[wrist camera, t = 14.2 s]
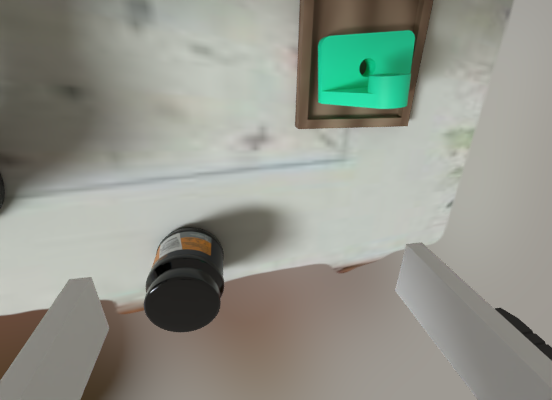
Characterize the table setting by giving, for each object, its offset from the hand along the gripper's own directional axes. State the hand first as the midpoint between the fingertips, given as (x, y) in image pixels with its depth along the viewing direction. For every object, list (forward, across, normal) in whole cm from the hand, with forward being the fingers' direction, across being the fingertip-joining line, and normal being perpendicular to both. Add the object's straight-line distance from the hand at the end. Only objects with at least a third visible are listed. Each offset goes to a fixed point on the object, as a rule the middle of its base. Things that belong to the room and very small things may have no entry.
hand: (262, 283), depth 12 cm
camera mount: (+31, +17, +8) cm, 36 cm away
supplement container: (+32, -8, -20) cm, 39 cm away
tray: (+31, +17, +9) cm, 37 cm away
